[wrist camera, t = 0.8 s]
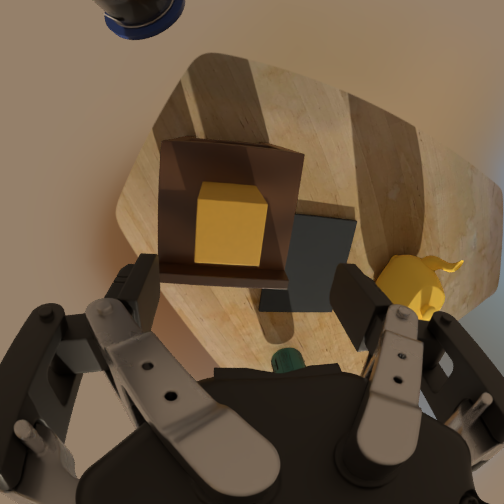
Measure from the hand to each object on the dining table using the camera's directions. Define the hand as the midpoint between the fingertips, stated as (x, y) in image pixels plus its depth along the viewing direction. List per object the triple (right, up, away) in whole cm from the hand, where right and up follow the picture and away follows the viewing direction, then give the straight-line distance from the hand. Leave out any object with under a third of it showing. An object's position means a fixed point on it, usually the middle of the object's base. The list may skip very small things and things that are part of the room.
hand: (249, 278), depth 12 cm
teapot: (+29, -3, +38) cm, 48 cm away
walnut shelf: (-4, +11, +27) cm, 30 cm away
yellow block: (-2, +5, +12) cm, 13 cm away
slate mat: (+9, -1, +35) cm, 36 cm away
